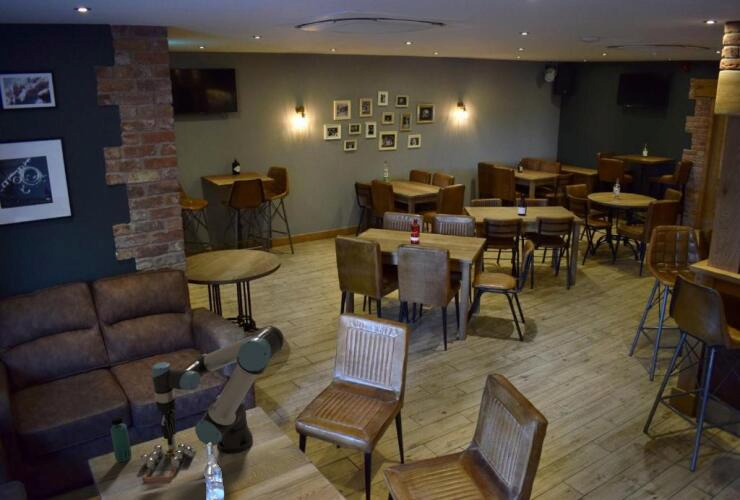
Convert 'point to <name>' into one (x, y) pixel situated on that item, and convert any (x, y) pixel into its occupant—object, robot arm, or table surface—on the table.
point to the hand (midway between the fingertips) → (172, 449)
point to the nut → (169, 454)
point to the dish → (163, 478)
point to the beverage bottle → (120, 440)
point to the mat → (170, 464)
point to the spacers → (158, 454)
